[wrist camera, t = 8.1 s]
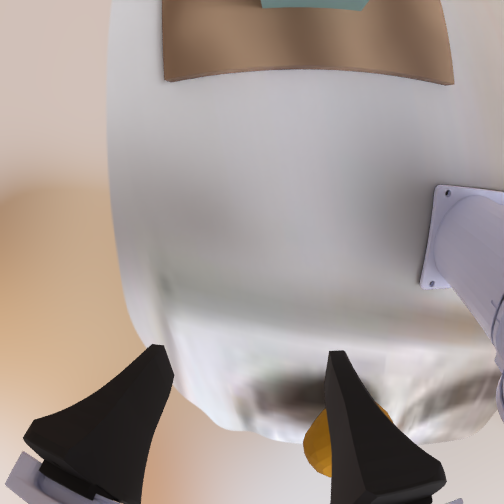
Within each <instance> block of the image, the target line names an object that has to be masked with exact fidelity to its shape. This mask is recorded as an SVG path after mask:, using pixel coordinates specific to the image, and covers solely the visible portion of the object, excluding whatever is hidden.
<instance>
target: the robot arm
mask: <svg viewBox="0 0 504 504" xmlns="http://www.w3.org/2000/svg"><path fill="white" fill-rule="evenodd" d="M447 190H448V195H447V196H446V195H445V192H446V191H447ZM431 281H433V282H432V283H431V284H430V282H431ZM420 286H421V288H422V289H425V290H426V289H441V288H453V290H454V291H455V292H456V293H457V295H458V296H459V297H460V299H461V300H462V301H463V303H464V304H465V305H466V306H467V308H468V309H469V310H470V312H471V313H472V315H473V316H474V317H475V319H476V320H477V321H478V323H479V324H480V326H481V327H482V329H483V330H484V331H485V333H486V334H487V336H488V337H489V339H490V340H491V342H492V343H493V345H494V346H495V348H496V351H497V353H496V357H495V362H496V364H497V366H498V368H499V369H500V371H501V373H502V375H501V377H500V379H499V382H498V386H497V390H496V402H497V408H498V412H499V414H500V417H501V419H502V421H503V422H504V192H501V191H494V190H486V189H478V188H469V187H460V186H449V185H438V186H437V187H436V188H435V191H434V201H433V210H432V218H431V225H430V231H429V238H428V244H427V249H426V255H425V260H424V265H423V270H422V274H421V279H420ZM173 379H174V373H173V370H172V367H171V365H170V362H169V359H168V356H167V353H166V350H165V347H164V345H155V344H152V345H151V346H149V347H148V348H147V349H146V350H145V351H144V352H143V353H142V354H141V355H140V356H139V357H137V358H136V359H135V360H134V361H133V362H132V363H131V364H130V365H129V366H128V367H126V368H125V369H124V370H123V371H122V372H121V373H120V374H118V375H117V376H116V377H115V378H113V379H112V380H111V381H110V382H108V383H107V384H106V385H105V386H103V387H102V388H101V389H99V390H98V391H97V392H95V393H93V394H92V395H90V396H89V397H87V398H85V399H83V400H82V401H80V402H78V403H76V404H75V405H72V406H71V407H68V408H66V409H64V410H62V411H59V412H57V413H54V414H52V415H48V416H45V417H42V418H39V419H35V420H34V421H33V422H32V424H31V426H30V427H29V429H28V430H27V432H26V434H25V435H24V437H23V439H24V441H25V442H26V444H27V445H28V446H29V447H30V448H32V449H33V450H34V451H35V452H36V453H37V454H38V455H39V456H40V457H41V458H43V459H44V461H43V463H41V462H39V461H38V460H36V459H35V458H33V457H32V456H30V455H28V454H27V453H25V452H22V453H21V455H20V457H19V459H18V461H17V462H16V464H15V466H14V468H13V469H12V471H11V473H10V475H9V477H8V479H7V481H6V483H5V485H6V486H7V487H8V488H10V489H11V490H12V491H13V492H14V493H16V494H17V495H18V496H19V497H21V498H22V499H23V500H24V501H26V502H27V503H28V504H120V503H123V504H141V495H142V485H143V478H144V472H145V467H146V462H147V457H148V453H149V449H150V445H151V441H152V438H153V435H154V432H155V429H156V427H157V424H158V422H159V419H160V416H161V414H162V412H163V409H164V407H165V404H166V402H167V400H168V397H169V394H170V391H171V387H172V383H173ZM324 386H325V405H326V412H327V419H328V426H329V434H330V441H331V452H332V479H331V503H330V504H431V503H432V495H433V494H434V493H435V492H437V491H438V490H440V489H441V488H442V487H443V486H444V485H445V484H446V482H447V481H446V476H445V472H444V469H443V467H442V465H441V462H440V461H438V460H437V459H435V458H434V457H432V456H431V455H429V454H428V453H426V452H425V451H424V450H422V449H421V448H420V447H418V446H417V445H416V444H415V443H413V442H412V441H411V440H410V439H409V438H408V437H407V436H406V435H405V434H404V433H402V432H401V431H400V430H399V429H398V428H397V427H396V426H395V425H394V424H393V423H392V422H391V420H390V419H389V418H388V417H387V416H386V415H385V414H384V412H383V411H382V410H381V409H380V407H379V406H378V405H377V404H376V402H375V401H374V399H373V398H372V397H371V395H370V394H369V392H368V391H367V389H366V388H365V386H364V385H363V383H362V382H361V380H360V378H359V377H358V375H357V373H356V372H355V370H354V368H353V366H352V364H351V362H350V361H349V359H348V357H347V354H346V352H345V351H344V350H342V351H329V356H328V362H327V369H326V375H325V381H324ZM113 500H114V501H113ZM115 501H116V502H115ZM117 502H119V503H117ZM446 504H463V500H462V498H459V499H457V500H454V501H452V502H449V503H446Z"/></svg>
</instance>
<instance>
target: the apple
mask: <svg viewBox="0 0 504 504" xmlns="http://www.w3.org/2000/svg"><path fill="white" fill-rule="evenodd" d="M376 404H377V403H376ZM377 405H378V406H379V407H380V409H381V410H382V411H383V412H384V414H385V415H386V416H387V417H388V418H389V419H390V420H391V418H390V416H389V415H388V413H387V412H386V411H385V410H384V409H383V408H382V407H381V406H380V405H379V404H377ZM391 422H392V423H393V421H392V420H391ZM393 424H394V423H393ZM303 447H304V453H305V455H306V458H307V459H308V461H309V463H310V464H311V465H312V466H313V468H314V469H315V470H316V471H317V472H319V473H321V474H323V475H326V476H328V477H332V452H331V441H330V434H329V426H328V419H327V412H326V408H325V409H324V410H323V411H322V412H321V414H320V415H319V416H318V417H317V418H316V420H315V421H314V422H313V424H312V425H311V427H310V428H309V430H308V431H307V433H306V434H305V438H304V441H303Z"/></svg>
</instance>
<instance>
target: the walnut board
mask: <svg viewBox="0 0 504 504" xmlns="http://www.w3.org/2000/svg"><path fill="white" fill-rule="evenodd" d="M162 32H163V61H164V80H166V81H169V82H175V81H181V80H186V79H192V78H198V77H204V76H211V75H219V74H227V73H236V72H247V71H261V70H282V69H324V70H345V71H358V72H369V73H378V74H386V75H393V76H400V77H406V78H412V79H417V80H423V81H427V82H432V83H437V84H441V85H445V86H446V85H453V84H454V75H453V66H452V58H451V51H450V44H449V38H448V33H447V28H446V23H445V18H444V14H443V9H442V5H441V1H440V0H369V1H368V2H367V4H366V5H365V7H364V8H363V9H362V11H355V10H345V9H333V8H313V7H281V8H262V4H261V0H162Z"/></svg>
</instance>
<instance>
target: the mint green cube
mask: <svg viewBox="0 0 504 504" xmlns="http://www.w3.org/2000/svg"><path fill="white" fill-rule="evenodd" d="M368 1H369V0H261V4H262V8H281V7H313V8H333V9H345V10H355V11H362V9H363V8H364V7H365V5H366V4H367V2H368Z"/></svg>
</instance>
